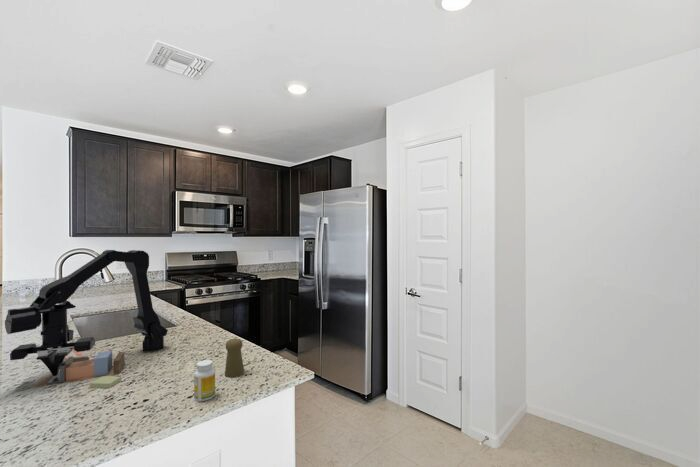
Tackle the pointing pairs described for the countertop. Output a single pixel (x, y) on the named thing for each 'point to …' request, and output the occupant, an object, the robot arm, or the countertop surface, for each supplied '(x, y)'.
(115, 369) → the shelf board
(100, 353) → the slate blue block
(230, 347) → the cork
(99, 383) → the olive book
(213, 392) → the supplement bottle
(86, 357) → the packaged product
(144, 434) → the countertop surface
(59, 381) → the bookend
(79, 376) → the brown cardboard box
